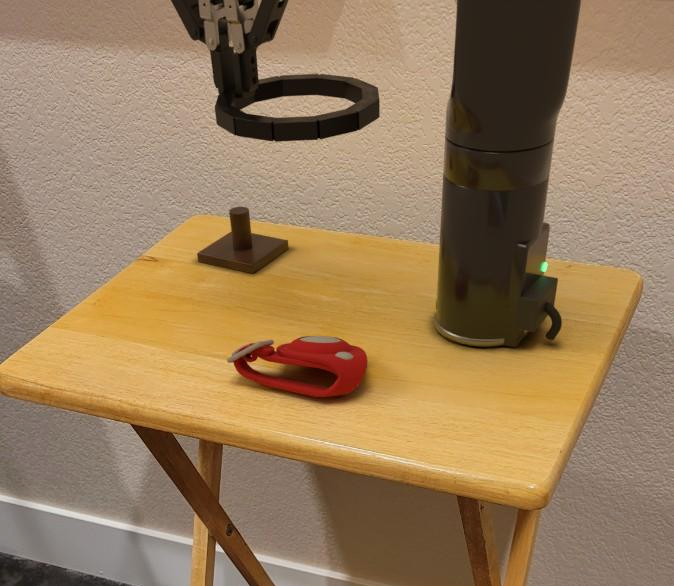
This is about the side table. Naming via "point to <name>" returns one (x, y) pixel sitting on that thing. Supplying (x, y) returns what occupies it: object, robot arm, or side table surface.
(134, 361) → the side table surface
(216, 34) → the robot arm
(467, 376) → the side table surface
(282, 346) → the tracker holder
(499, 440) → the side table surface
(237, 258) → the ring holder
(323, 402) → the side table surface
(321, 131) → the ring
